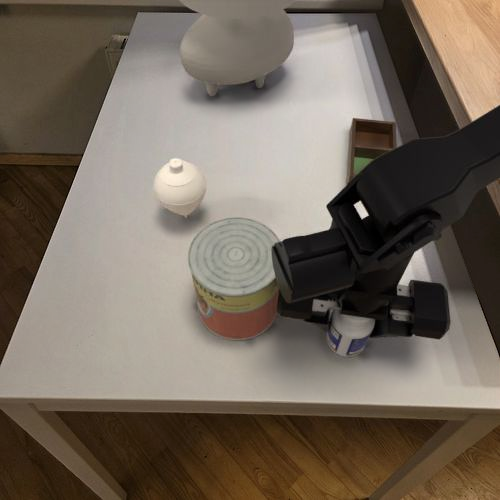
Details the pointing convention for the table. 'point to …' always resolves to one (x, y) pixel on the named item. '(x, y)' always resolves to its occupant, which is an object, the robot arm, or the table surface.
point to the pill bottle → (348, 333)
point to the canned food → (235, 277)
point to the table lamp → (236, 41)
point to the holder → (369, 143)
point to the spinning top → (180, 186)
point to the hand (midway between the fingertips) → (348, 331)
